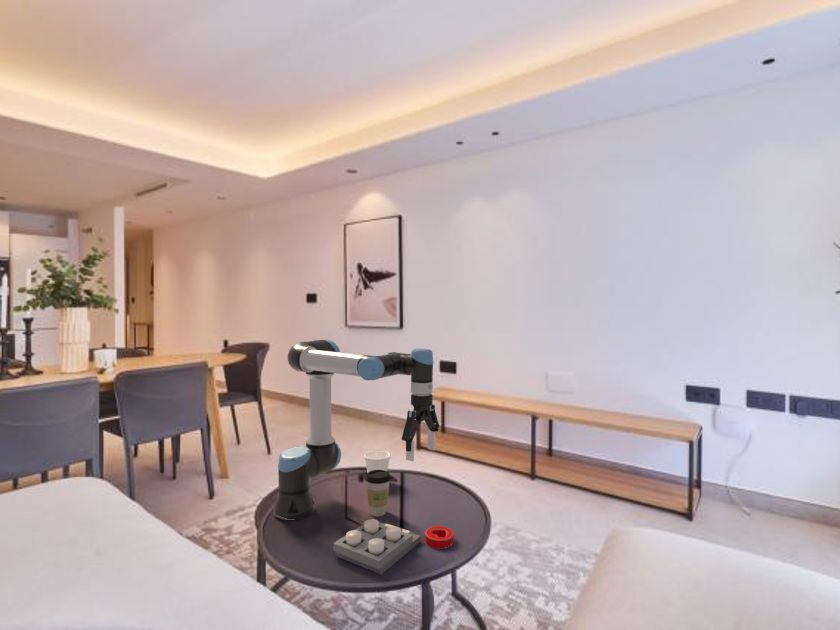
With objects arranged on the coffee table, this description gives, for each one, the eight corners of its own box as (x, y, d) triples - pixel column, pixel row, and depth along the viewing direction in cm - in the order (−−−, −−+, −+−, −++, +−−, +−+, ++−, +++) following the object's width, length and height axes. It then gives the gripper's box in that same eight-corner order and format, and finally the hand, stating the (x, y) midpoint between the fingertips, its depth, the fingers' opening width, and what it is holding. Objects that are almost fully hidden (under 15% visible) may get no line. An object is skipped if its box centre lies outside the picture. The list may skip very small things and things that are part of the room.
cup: (380, 490, 196) (380, 461, 195) (358, 483, 202) (358, 456, 201) (395, 480, 206) (395, 453, 205) (374, 475, 212) (374, 448, 212)
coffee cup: (386, 519, 169) (387, 479, 169) (361, 517, 171) (361, 477, 170) (393, 508, 179) (393, 470, 178) (369, 505, 181) (369, 468, 180)
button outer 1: (365, 553, 140) (365, 543, 140) (374, 546, 144) (374, 536, 144) (377, 557, 137) (377, 548, 137) (387, 550, 141) (387, 541, 141)
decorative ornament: (457, 538, 157) (457, 528, 157) (448, 552, 148) (448, 542, 148) (431, 532, 161) (431, 523, 161) (420, 545, 152) (420, 536, 152)
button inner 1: (342, 544, 145) (342, 535, 144) (352, 537, 149) (353, 528, 148) (354, 548, 142) (354, 539, 142) (364, 542, 146) (364, 532, 146)
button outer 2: (382, 540, 147) (383, 531, 147) (391, 533, 151) (391, 524, 151) (395, 544, 145) (395, 535, 145) (403, 538, 149) (403, 528, 149)
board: (333, 557, 144) (333, 543, 144) (378, 527, 163) (378, 514, 163) (378, 576, 134) (379, 561, 134) (420, 541, 154) (420, 528, 154)
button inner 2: (361, 532, 152) (361, 523, 152) (370, 526, 156) (370, 517, 156) (372, 536, 150) (372, 527, 149) (381, 530, 154) (381, 521, 154)
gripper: (410, 401, 146) (409, 467, 146) (449, 389, 166) (448, 447, 167) (391, 398, 150) (390, 462, 150) (431, 387, 170) (431, 443, 171)
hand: (421, 454), depth 159 cm, fingers open, 13 cm apart
